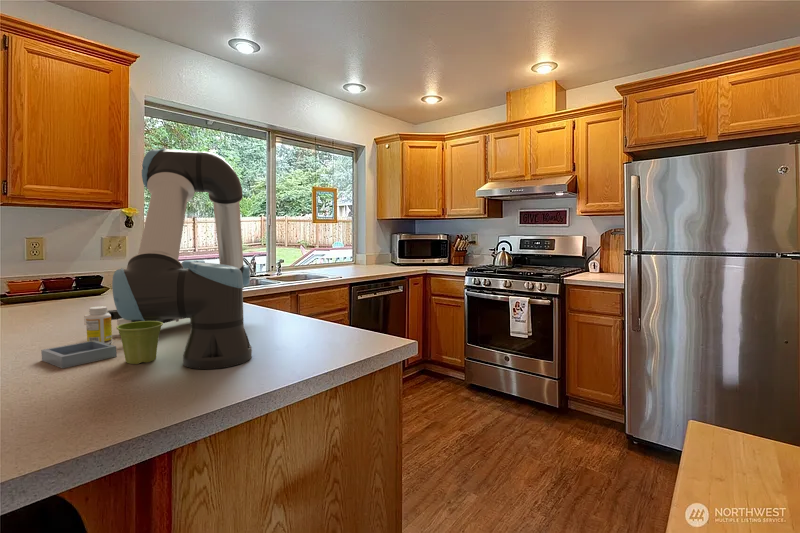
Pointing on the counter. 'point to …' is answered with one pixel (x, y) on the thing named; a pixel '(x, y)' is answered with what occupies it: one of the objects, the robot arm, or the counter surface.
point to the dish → (78, 353)
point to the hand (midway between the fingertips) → (101, 322)
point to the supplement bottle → (99, 325)
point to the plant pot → (140, 340)
